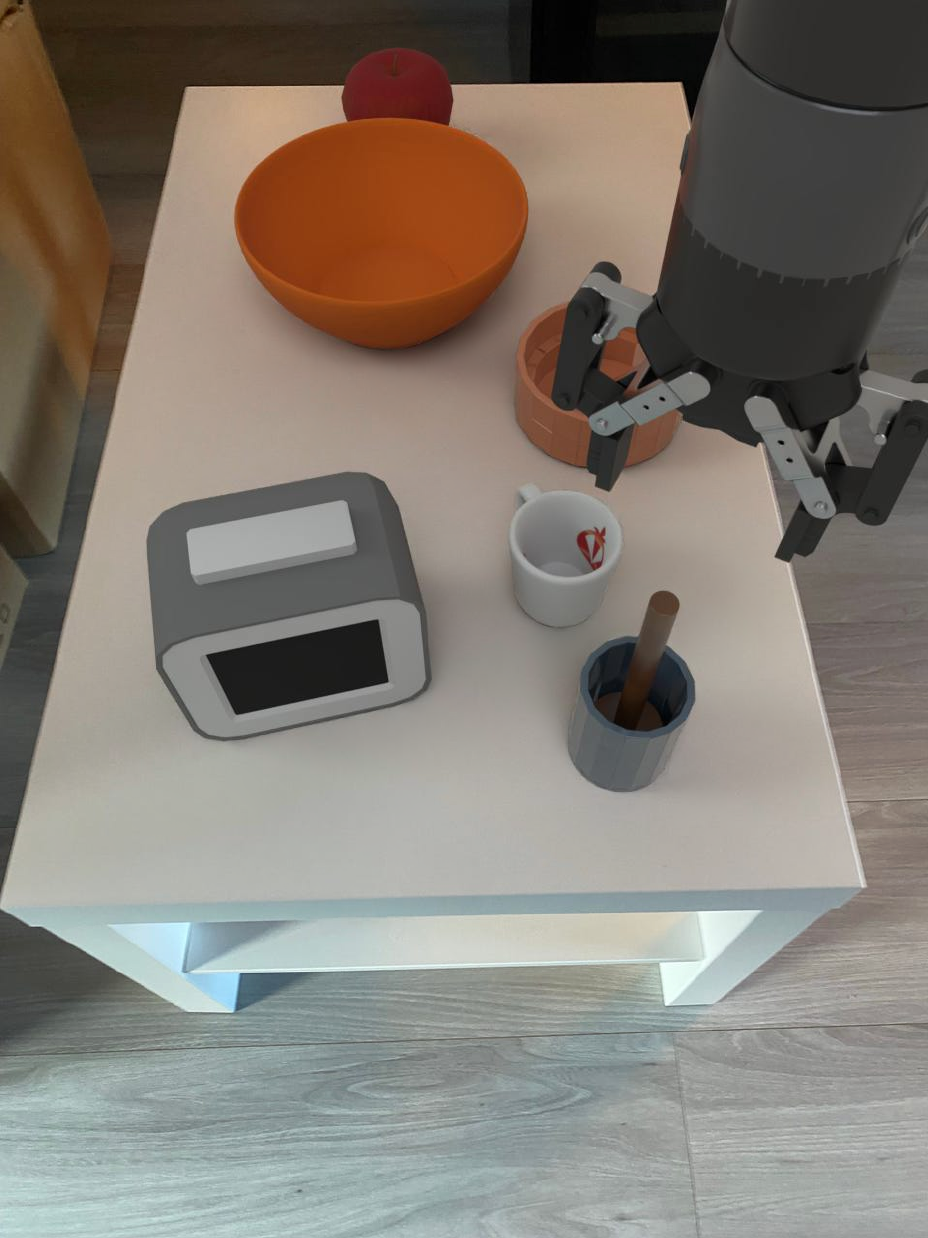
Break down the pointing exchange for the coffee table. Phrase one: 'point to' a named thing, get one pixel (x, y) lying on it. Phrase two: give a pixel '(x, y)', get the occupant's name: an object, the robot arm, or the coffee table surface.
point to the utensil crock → (612, 749)
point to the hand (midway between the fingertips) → (696, 510)
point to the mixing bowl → (570, 429)
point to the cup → (562, 553)
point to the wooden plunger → (643, 669)
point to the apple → (398, 87)
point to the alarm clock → (286, 606)
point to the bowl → (382, 228)
